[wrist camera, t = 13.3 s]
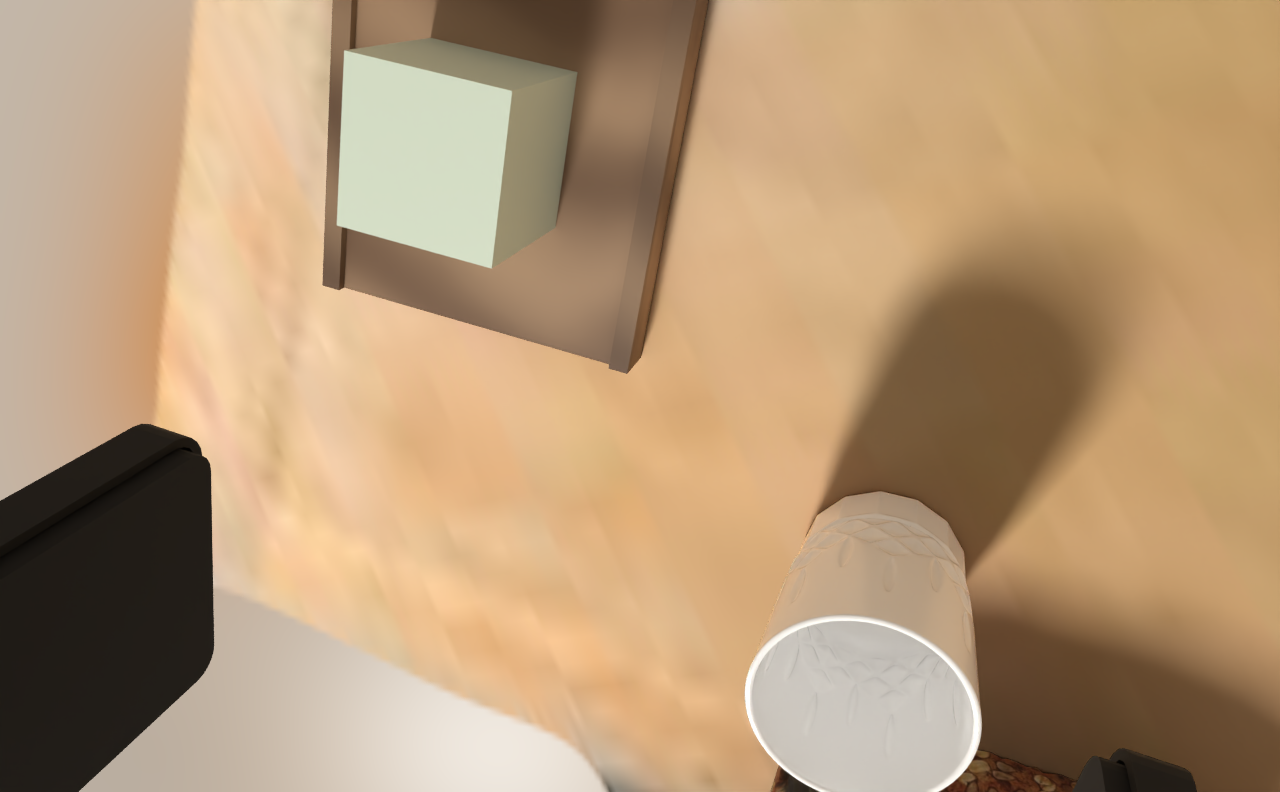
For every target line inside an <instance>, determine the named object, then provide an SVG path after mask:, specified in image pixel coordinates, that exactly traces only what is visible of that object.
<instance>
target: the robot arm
mask: <svg viewBox="0 0 1280 792" xmlns="http://www.w3.org/2000/svg"><path fill="white" fill-rule="evenodd" d="M213 650H214V617H213V561H212V505H211V468H210V463H209V461H208V460H207V458H205V457H203V456H202V452H201V448H200V446H199V444H198V443H197V441H195V440H193V439H192V438H190V437H187V436H184V435H181V434H178V433H175V432H172V431H169V430H166V429H163V428H160V427H157V426H154V425H151V424H140V425H137V426H135V427H132V428H130V429H128V430H127V431H125V432H123V433H121V434H120V435H118V436H116V437H114V438H112V439H111V440H109V441H107V442H105V443H104V444H102V445H100V446H98V447H96V448H95V449H93V450H91V451H89V452H87V453H85V454H84V455H82V456H80V457H78V458H76V459H75V460H73V461H71V462H69V463H67V464H66V465H64V466H62V467H60V468H59V469H57V470H55V471H53V472H51V473H50V474H48V475H46V476H44V477H42V478H41V479H39V480H37V481H35V482H34V483H32V484H30V485H28V486H26V487H25V488H23V489H21V490H19V491H17V492H15V493H14V494H12V495H10V496H8V497H6V498H5V499H3V500H1V501H0V792H79V791H80V790H81V789H82V788H83V787H84V786H85V785H86V784H87V783H88V782H89V781H90V780H91V779H93V778H94V777H95V776H96V775H97V774H98V773H99V772H100V771H101V770H102V769H103V768H104V767H105V766H106V765H108V764H109V763H110V762H111V761H112V760H113V759H114V758H115V757H116V756H117V755H118V754H119V753H120V752H122V751H123V750H124V749H125V748H126V747H127V746H128V745H129V744H130V743H131V742H132V741H133V740H134V739H135V738H137V737H138V736H139V735H140V734H141V733H142V732H143V731H144V730H145V729H146V728H147V727H148V726H150V725H151V724H152V723H153V722H154V721H155V720H156V719H157V718H158V717H159V716H160V715H161V714H162V713H163V712H165V711H166V710H167V709H168V708H169V707H170V706H171V705H172V704H173V703H174V702H175V701H176V700H177V699H179V697H181V696H182V695H183V694H184V693H185V692H186V691H187V690H188V689H189V688H190V687H191V686H192V685H193V684H194V683H196V682H197V681H198V680H199V678H200V677H201V676H202V675H203V674H204V672H205V671H206V669H207V667H208V665H209V663H210V661H211V658H212V654H213ZM1072 792H1197V790H1196V786H1195V782H1194V780H1193V777H1192V775H1191V773H1190V772H1189V771H1188V770H1186V769H1185V768H1182V767H1179V766H1176V765H1173V764H1170V763H1167V762H1164V761H1161V760H1158V759H1155V758H1152V757H1149V756H1146V755H1143V754H1140V753H1137V752H1134V751H1131V750H1128V749H1125V748H1122V749H1118V750H1117V751H1116V752H1115V753H1113V755H1112V756H1111V758H1110V760H1107V759H1104V758H1101V757H1098V756H1093V757H1092V758H1090V759H1089V761H1088V762H1087V764H1086V765H1085V767H1084V769H1083V771H1082V773H1081V775H1080V777H1079V779H1078V781H1077V783H1076V785H1075V787H1074V789H1073V791H1072Z"/></svg>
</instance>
